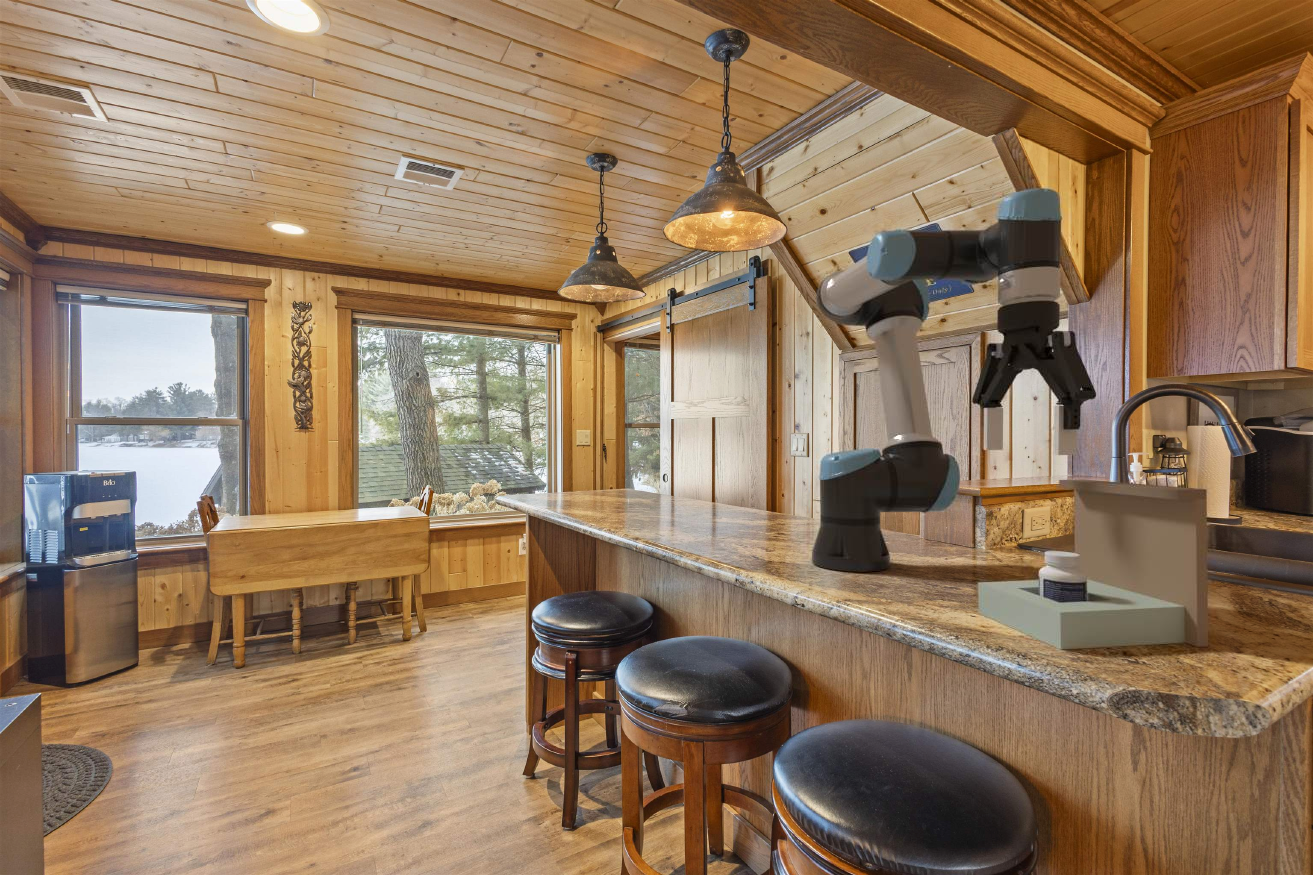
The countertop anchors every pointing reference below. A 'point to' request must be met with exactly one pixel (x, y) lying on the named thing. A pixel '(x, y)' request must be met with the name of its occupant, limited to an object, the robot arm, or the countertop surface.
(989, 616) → the socket stand
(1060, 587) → the pill bottle
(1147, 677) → the countertop surface
